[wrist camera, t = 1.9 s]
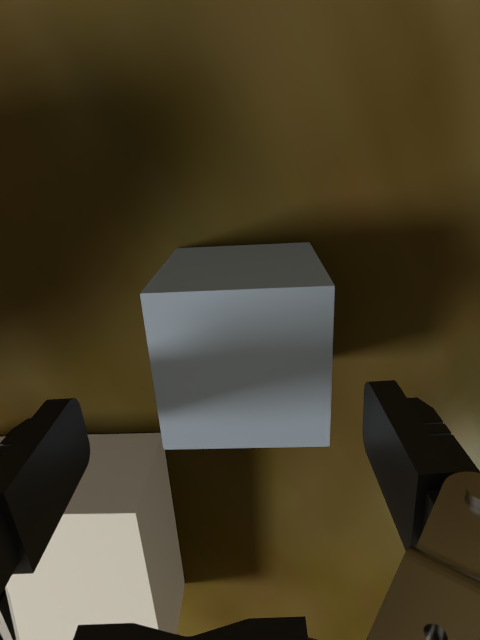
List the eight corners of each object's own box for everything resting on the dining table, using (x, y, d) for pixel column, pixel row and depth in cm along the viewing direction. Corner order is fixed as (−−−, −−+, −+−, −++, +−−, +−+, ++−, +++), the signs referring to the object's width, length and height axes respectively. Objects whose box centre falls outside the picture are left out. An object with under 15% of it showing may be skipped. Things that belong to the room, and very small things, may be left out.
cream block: (162, 432, 21) (135, 513, 16) (184, 584, 25) (168, 682, 20) (-49, 437, 21) (-133, 516, 17) (7, 584, 26) (-48, 680, 21)
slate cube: (309, 241, 17) (335, 285, 12) (308, 360, 19) (329, 446, 14) (176, 248, 17) (140, 293, 12) (189, 364, 20) (163, 449, 14)
